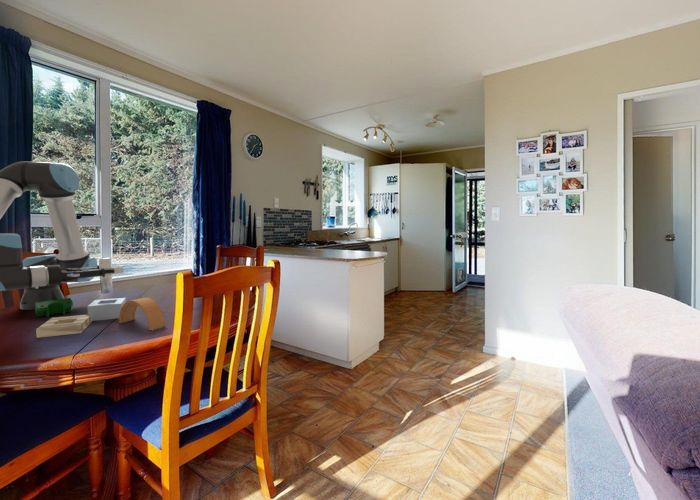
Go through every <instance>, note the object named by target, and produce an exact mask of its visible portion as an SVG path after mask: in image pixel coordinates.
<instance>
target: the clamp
mask: <svg viewBox="0 0 700 500" xmlns="http://www.w3.org/2000/svg"><path fill="white" fill-rule="evenodd" d="M73 306H74V301H73V300H72V298H71V297H67V298H65V299H58V300H51V301H43V302H36V303H35V310H34V311H35V315H36V316H37V317H43V316H44V315H45V316H46V317H47V318H49V317H50V316H51V315H57V314H63V315H66V313H69V312H71V310H72V307H73ZM45 316H44V317H45Z"/></svg>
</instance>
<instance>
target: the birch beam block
mask: <svg viewBox="0 0 700 500" xmlns="http://www.w3.org/2000/svg"><path fill="white" fill-rule="evenodd" d="M92 322H93V321H92V314H90V315H88V314H80V315H70V316H58V317H57V316H56V317H51V318H50V319H48V320H47V321H45V322H44V323H42V324H41V325H40V326H38V327H37V328H35V330H36V331H35V333H36V339H38V338H47V337H55V336H56V337H58V336H65V335H66V336H68V335H74V334H82V333H83V332H84V331H85V330H86V329H87V328H88V327H89V326H90V324H92Z"/></svg>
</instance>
